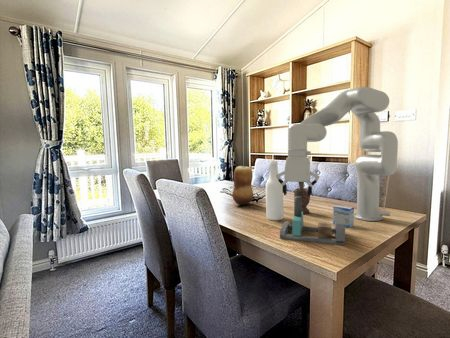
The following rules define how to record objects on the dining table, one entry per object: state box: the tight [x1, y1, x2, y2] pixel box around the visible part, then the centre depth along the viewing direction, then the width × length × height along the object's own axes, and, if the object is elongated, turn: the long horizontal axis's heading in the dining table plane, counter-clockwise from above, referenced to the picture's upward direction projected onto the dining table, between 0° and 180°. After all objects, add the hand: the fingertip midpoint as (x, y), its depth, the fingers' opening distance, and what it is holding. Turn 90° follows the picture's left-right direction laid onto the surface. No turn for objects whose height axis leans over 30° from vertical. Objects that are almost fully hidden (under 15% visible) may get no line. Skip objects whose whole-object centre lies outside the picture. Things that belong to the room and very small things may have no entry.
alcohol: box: [264, 159, 285, 221], centre depth 128 cm, size 9×9×30 cm
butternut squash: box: [231, 165, 254, 206], centre depth 159 cm, size 14×13×25 cm
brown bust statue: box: [293, 182, 311, 215], centre depth 135 cm, size 12×9×20 cm
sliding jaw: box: [291, 196, 304, 236], centre depth 105 cm, size 3×14×14 cm, turn 158°
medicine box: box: [332, 204, 355, 228], centre depth 115 cm, size 8×4×9 cm, turn 45°
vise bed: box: [279, 214, 346, 246], centre depth 103 cm, size 24×14×8 cm, turn 68°
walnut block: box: [317, 222, 333, 239], centre depth 101 cm, size 5×5×5 cm
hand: (297, 195), depth 104 cm, fingers open, 9 cm apart
